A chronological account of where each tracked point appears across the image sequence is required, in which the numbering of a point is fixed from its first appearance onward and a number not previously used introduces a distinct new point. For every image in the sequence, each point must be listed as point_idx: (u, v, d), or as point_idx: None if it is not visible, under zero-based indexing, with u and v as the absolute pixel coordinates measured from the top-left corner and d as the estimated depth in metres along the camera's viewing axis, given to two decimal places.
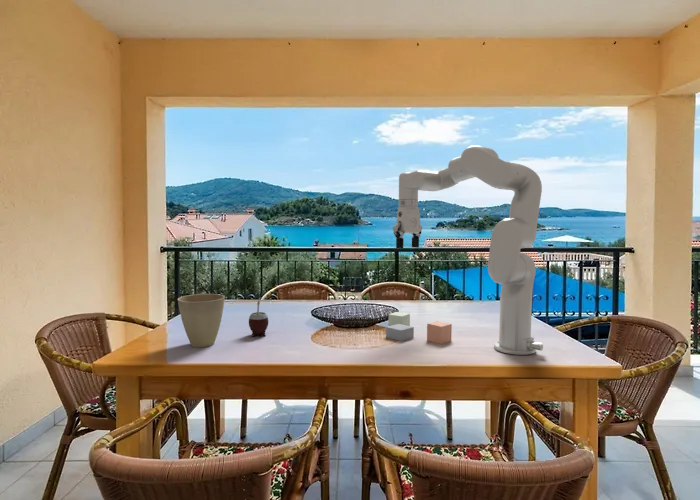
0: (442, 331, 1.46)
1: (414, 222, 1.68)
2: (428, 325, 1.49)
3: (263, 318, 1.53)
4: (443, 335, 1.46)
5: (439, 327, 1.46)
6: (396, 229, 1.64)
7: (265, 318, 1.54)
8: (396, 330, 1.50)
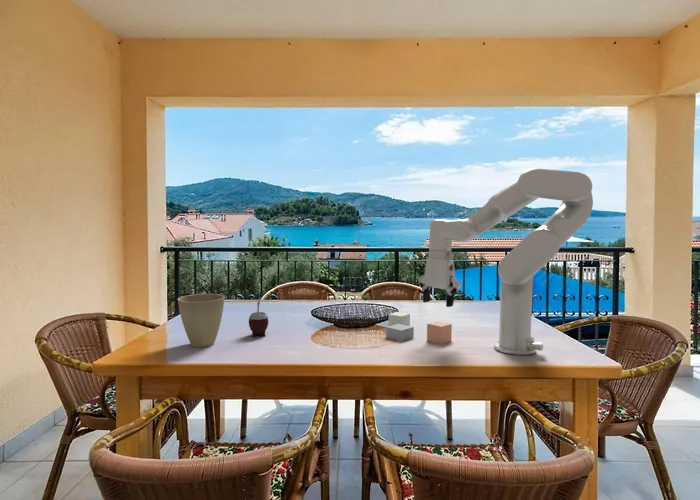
0: (442, 331, 1.46)
1: None
2: (428, 325, 1.49)
3: (263, 318, 1.53)
4: (443, 335, 1.46)
5: (439, 327, 1.46)
6: None
7: (265, 318, 1.54)
8: (396, 330, 1.50)
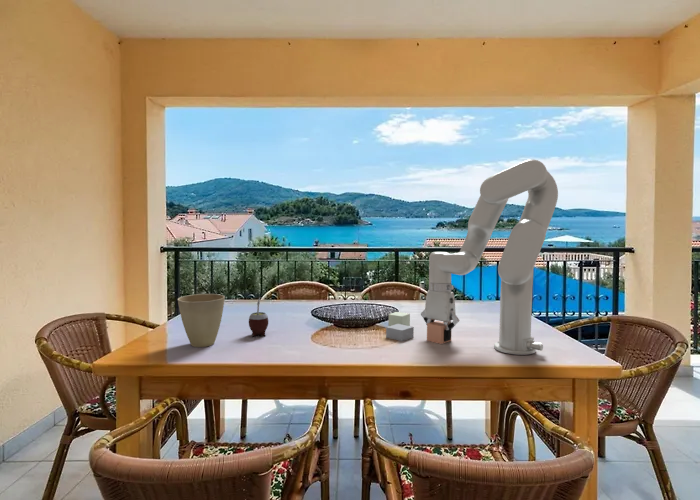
0: (442, 331, 1.46)
1: None
2: (428, 325, 1.49)
3: (263, 318, 1.53)
4: (443, 334, 1.46)
5: (439, 327, 1.46)
6: None
7: (265, 318, 1.54)
8: (397, 330, 1.50)
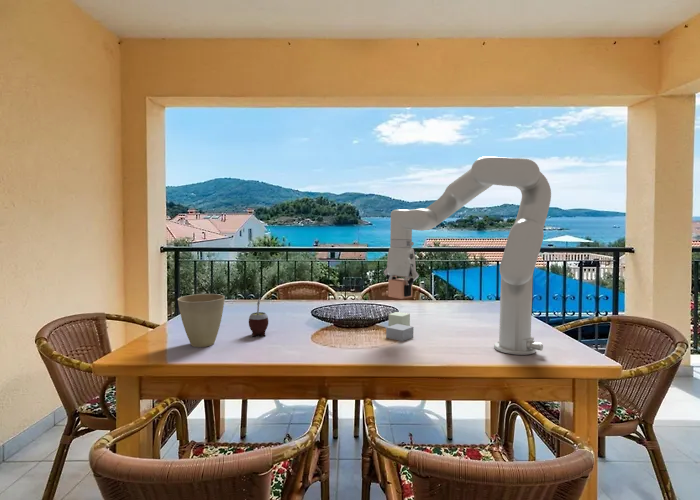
0: (402, 286, 1.49)
1: None
2: (389, 281, 1.52)
3: (263, 318, 1.53)
4: (403, 290, 1.49)
5: (399, 282, 1.49)
6: None
7: (265, 318, 1.54)
8: (397, 330, 1.50)
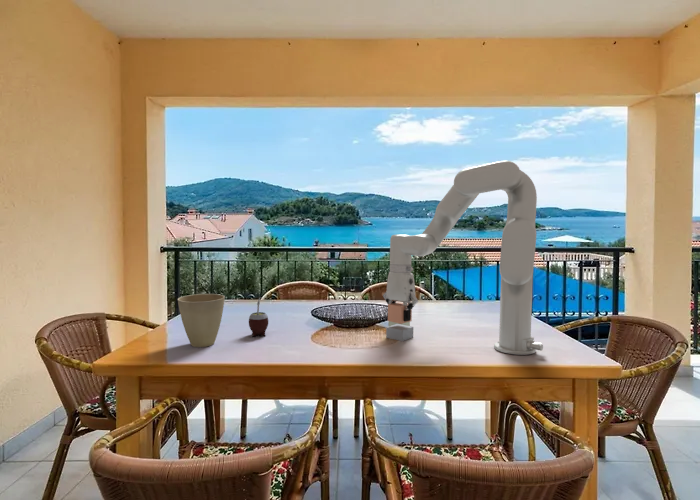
0: (402, 311, 1.49)
1: None
2: (389, 306, 1.53)
3: (263, 318, 1.53)
4: (403, 315, 1.50)
5: (399, 307, 1.50)
6: None
7: (265, 318, 1.54)
8: (397, 330, 1.50)
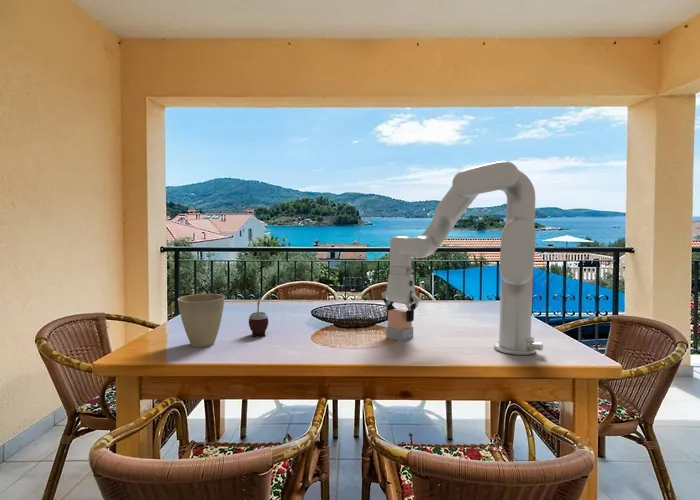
0: (402, 317, 1.49)
1: None
2: (389, 312, 1.53)
3: (263, 318, 1.53)
4: (403, 321, 1.50)
5: (398, 313, 1.50)
6: None
7: (265, 318, 1.54)
8: (398, 330, 1.50)
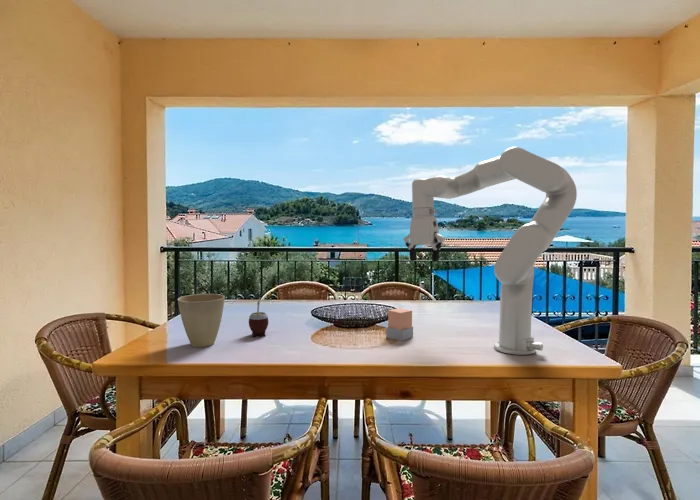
0: (402, 317, 1.50)
1: None
2: (389, 312, 1.53)
3: (263, 318, 1.53)
4: (403, 321, 1.50)
5: (398, 313, 1.50)
6: None
7: (265, 318, 1.54)
8: (398, 330, 1.50)
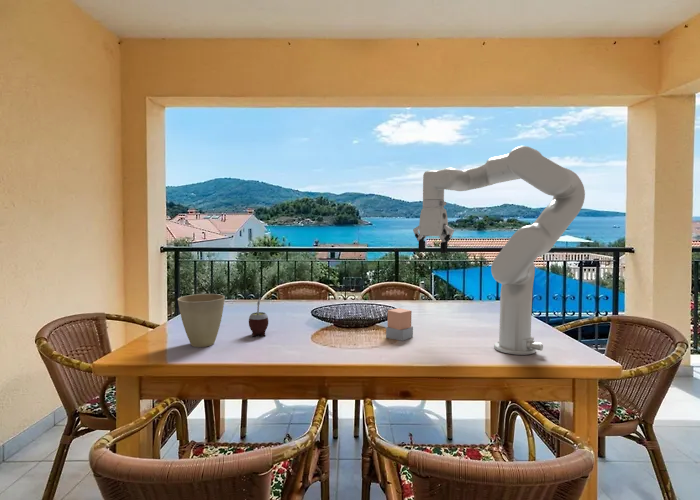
0: (401, 317, 1.50)
1: None
2: (388, 311, 1.53)
3: (263, 318, 1.53)
4: (402, 321, 1.50)
5: (397, 313, 1.50)
6: None
7: (265, 318, 1.54)
8: (397, 330, 1.50)
